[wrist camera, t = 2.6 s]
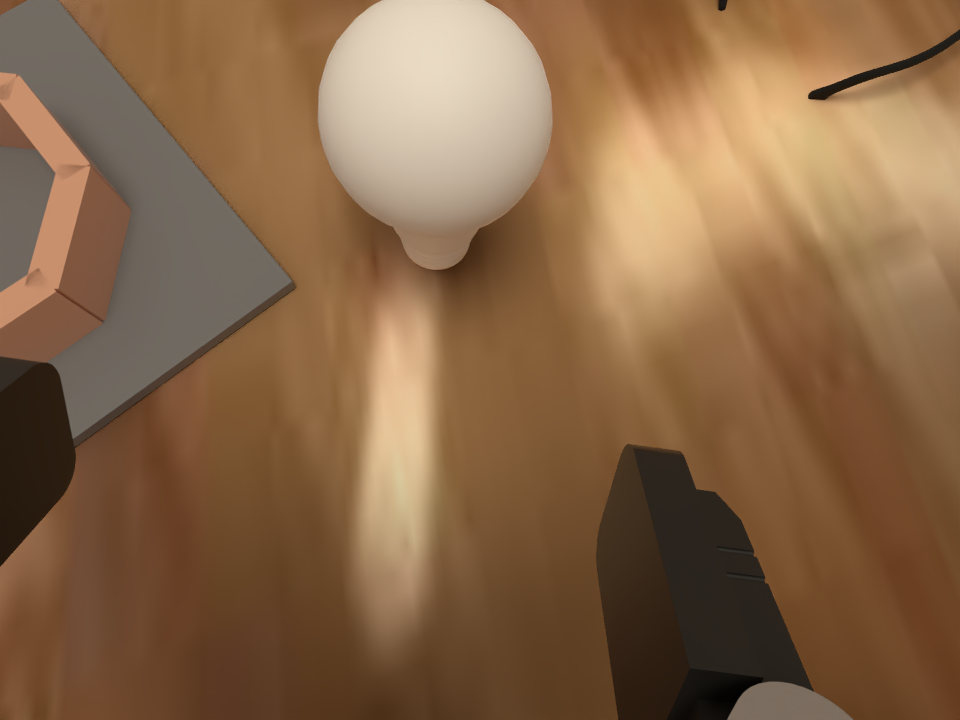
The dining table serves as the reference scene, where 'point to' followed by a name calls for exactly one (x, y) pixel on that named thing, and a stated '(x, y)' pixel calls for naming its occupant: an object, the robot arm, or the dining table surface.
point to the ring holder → (108, 228)
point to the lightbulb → (435, 120)
